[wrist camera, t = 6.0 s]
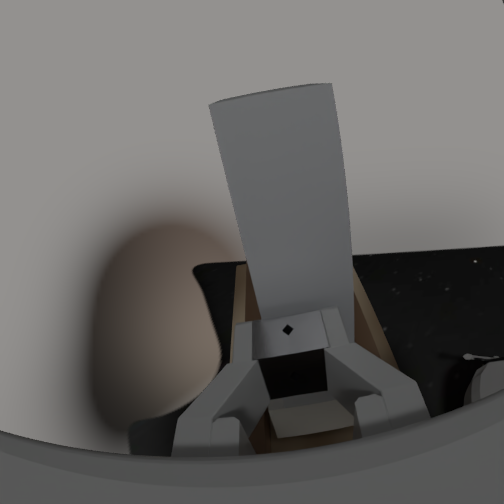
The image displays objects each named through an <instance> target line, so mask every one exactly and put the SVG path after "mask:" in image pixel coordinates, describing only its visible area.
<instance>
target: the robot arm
mask: <svg viewBox="0 0 504 504" xmlns="http://www.w3.org/2000/svg"><path fill="white" fill-rule="evenodd" d="M503 3H504V0H503ZM322 391H328V392H329V393H330V394H331V395H332V396H333V397H334V398H335V399H336V400H337V401H338V402H339V403H340V404H341V405H342V406H343V407H344V408H345V409H346V410H347V411H348V412H349V413H350V414H351V415H353V416H354V427H353V440H350V441H346V442H341V443H336V444H330V445H325V446H319V447H313V448H307V449H300V450H293V451H285V452H277V453H267V454H256V453H255V451H254V449H253V447H252V445H251V443H250V441H249V439H248V438H249V436H250V435H251V433H252V432H253V430H254V428H255V427H256V425H257V423H258V422H259V420H260V418H261V417H262V415H263V413H264V412H265V410H266V408H267V407H268V405H269V403H270V402H271V401H270V400H273V399H279V398H285V397H290V396H296V395H302V394H309V393H316V392H322ZM0 504H504V389H502V390H500V391H498V392H496V393H493V394H491V395H489V396H487V397H485V398H482V399H480V400H478V401H475V402H473V403H470V404H468V405H465V406H463V407H460V408H458V409H455V410H453V411H450V412H447V413H445V414H442V415H439V416H436V417H433V418H431V417H430V415H429V412H428V410H427V407H426V405H425V402H424V400H423V397H422V395H421V392H420V390H419V388H418V385H417V383H416V381H414V380H413V379H411V378H410V377H408V376H406V375H405V374H403V373H402V372H400V371H399V370H397V369H395V368H394V367H392V366H391V365H389V364H388V363H386V362H385V361H383V360H381V359H380V358H378V357H377V356H375V355H374V354H372V353H371V352H369V351H367V350H366V349H364V348H363V347H361V346H360V345H358V344H357V343H355V342H354V343H350V342H349V339H348V336H347V333H346V330H345V326H344V323H343V320H342V317H341V314H340V311H339V308H338V307H337V306H331V307H327V308H322V309H320V310H314V311H309V312H304V313H299V314H293V315H288V316H281V317H274V318H268V319H261V320H253V321H248V322H241V323H236V325H235V329H234V343H233V357H232V363H230V364H227V365H226V366H225V367H224V368H223V369H222V370H221V371H220V373H219V374H218V375H217V376H216V377H215V378H214V379H213V381H212V382H211V383H210V384H209V385H208V386H207V387H206V388H205V390H204V391H203V392H202V393H201V394H200V395H199V396H198V397H197V398H196V400H195V401H194V402H193V403H192V404H191V405H190V406H189V407H188V408H187V409H186V410H185V412H184V413H183V414H182V415H181V416H180V417H179V418H178V421H177V426H176V432H175V437H174V443H173V449H172V454H171V457H158V456H141V455H128V454H118V453H109V452H100V451H93V450H85V449H79V448H73V447H68V446H62V445H57V444H52V443H47V442H43V441H38V440H33V439H30V438H25V437H22V436H18V435H14V434H11V433H7V432H3V431H0Z"/></svg>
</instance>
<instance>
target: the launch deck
mask: <svg viewBox="0 0 504 504" xmlns="http://www.w3.org/2000/svg"><path fill="white" fill-rule="evenodd" d="M353 288H354V342H355V343H357V344H358V345H360V346H361V347H363V348H364V349H366V350H367V351H369V352H371V353H372V354H374V355H375V356H377V357H378V358H380V359H381V360H383V361H385V362H386V363H388V364H389V365H391V366H392V367H394V368H395V369H397V370H399V368H398V366H397V363H396V361H395V358H394V356H393V354H392V351H391V349H390V346H389V344H388V342H387V339H386V337H385V335H384V333H383V330H382V328H381V326H380V323H379V321H378V319H377V317H376V315H375V312H374V310H373V308H372V306H371V304H370V301H369V299H368V297H367V295H366V293H365V291H364V289H363V286H362V284H361V282H360V280H359V278H358V276H357V274H356V272H355V270H354V268H353ZM253 320H261V315H260V311H259V307H258V303H257V299H256V295H255V291H254V287H253V283H252V279H251V275H250V271H249V267H248V263H247V260H246V264H245V265H239V266H237V269H236V282H235V296H234V310H233V324H232V339H231V353H230V363H232V357H233V343H234V329H235V325H236V323H241V322H248V321H253ZM399 371H400V370H399ZM353 427H354V426H349V427H344V428H339V429H334V430H329V431H324V432H318V433H312V434H306V435H300V436H293V437H285V438H278V437H277V435H276V432H275V429H274V426H273V423H272V420H271V417H270V414H269V411H268V407H267V408H266V410H265V412H264V413H263V415H262V417H261V418H260V420H259V422H258V423H257V425H256V427H255V428H254V430H253V432H252V433H251V435H250V436H249V438H248V439H249V441H250V443H251V445H252V447H253V449H254V451H255V453H256V454H267V453H277V452H285V451H293V450H300V449H307V448H313V447H319V446H325V445H330V444H336V443H341V442H346V441H350V440H353Z"/></svg>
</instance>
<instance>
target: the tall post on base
mask: <svg viewBox="0 0 504 504" xmlns="http://www.w3.org/2000/svg"><path fill="white" fill-rule="evenodd" d="M209 109H210V113H211V117H212V121H213V126H214V130H215V134H216V137H217V142H218V146H219V150H220V154H221V158H222V162H223V166H224V170H225V175H226V179H227V183H228V187H229V190H230V195H231V198H232V203H233V207H234V211H235V215H236V219H237V223H238V227H239V231H240V235H241V239H242V243H243V247H244V251H245V255H246V259H247V263H248V267H249V271H250V275H251V279H252V283H253V287H254V291H255V295H256V299H257V303H258V307H259V311H260V315H261V319H268V318H274V317H281V316H288V315H293V314H299V313H304V312H309V311H314V310H320V309H322V308H327V307H331V306H337V307H338V308H339V311H340V314H341V317H342V320H343V323H344V326H345V330H346V333H347V336H348V339H349V342H350V343H354V288H353V265H352V247H351V232H350V220H349V208H348V197H347V187H346V178H345V169H344V162H343V154H342V147H341V139H340V132H339V125H338V118H337V112H336V106H335V100H334V94H333V89H332V84H331V83H328V84H323V83H322V84H306V85H299V86H292V87H285V88H279V89H274V90H268V91H263V92H257V93H252V94H247V95H242V96H237V97H233V98H228V99H223V100H220V101H217V102H215V103H213V104H210V105H209ZM270 401H271V402H270V403H269V405H268V411H269V414H270V417H271V420H272V423H273V426H274V429H275V432H276V435H277V437H278V438H285V437H293V436H300V435H306V434H312V433H318V432H324V431H329V430H334V429H339V428H344V427H349V426H354V416H353V415H351V414H350V413H349V412H348V411H347V410H346V409H345V408H344V407H343V406H342V405H341V404H340V403H339V402H338V401H337V400H336V399H335V398H334V397H333V396H332V395H331V394H330V393H329V392H328V391H322V392H316V393H309V394H302V395H296V396H290V397H285V398H279V399H273V400H270Z"/></svg>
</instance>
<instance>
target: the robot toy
mask: <svg viewBox="0 0 504 504" xmlns="http://www.w3.org/2000/svg"><path fill="white" fill-rule="evenodd" d="M463 357H464V358H465V359H467V360H470V359H473V360H482V361H486V362H484V363H483V365H482V367H481V368H479V369H477V371H476V373H475V375H474V376H473V378H472V380H471V382H470V384H469V386H468V388H467V390H466V392H465V397H464V406H465V405H468V404H470V403H473V402H475V401H478V400H480V399H482V398H485V397H487V396H489V395H491V394H493V393H496V392H498V391H500V390H502V389H504V357H501V358H499V357H498V356H494V357H493V358H491V357H482V356H474V355H471V354H465V355H464V356H463Z"/></svg>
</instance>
